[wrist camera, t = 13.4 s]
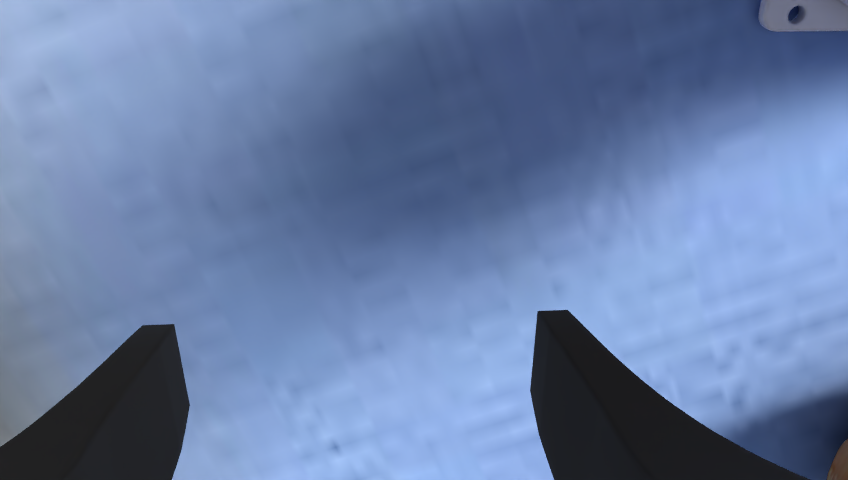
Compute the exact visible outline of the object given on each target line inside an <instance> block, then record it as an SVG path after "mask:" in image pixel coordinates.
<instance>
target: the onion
mask: <svg viewBox="0 0 848 480" xmlns="http://www.w3.org/2000/svg"><path fill="white" fill-rule="evenodd" d="M827 480H848V439H847V440H846V441H845V442H844V443H843V444H842V445H841V446H840V448H839V449H838V451H837V453H836V455H835V458H834V460H833V462H832V465H831V467H830V470H829V472H828V476H827Z"/></svg>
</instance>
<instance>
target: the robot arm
mask: <svg viewBox="0 0 848 480" xmlns="http://www.w3.org/2000/svg"><path fill="white" fill-rule="evenodd" d="M795 6H798V7H799V13H798V15H797V17H795V18H794V19H793V20H790V21H789V20H788V14H789V12H790V10H791V9H792V8H794V7H795ZM759 21H760V24H761V25H762V26H763V27H764V28H766V29H768V30H770V31H775V32H792V31H848V0H761V4H760V9H759ZM530 391H531V397H532V402H533V407H534V412H535V417H536V422H537V427H538V432H539V436H540V439H541V442H542V445H543V448H544V451H545V454H546V457H547V460H548V463H549V466H550V469H551V472H552V474H553V477H554V480H810V479H808V478H805V477H803V476H800V475H798V474H796V473H793V472H791V471H789V470H787V469H785V468H783V467H780V466H778V465H776V464H774V463H772V462H770V461H767V460H765V459H763V458H761V457H759V456H757V455H755V454H754V453H752V452H750V451H748V450H746V449H744V448H742V447H740V446H738V445H737V444H735V443H733V442H731V441H730V440H728V439H726V438H724V437H723V436H721V435H719V434H717V433H716V432H714V431H712V430H711V429H709V428H707V427H706V426H704V425H703V424H701V423H699V422H698V421H696V420H695V419H694V418H692V417H691V416H689V415H688V414H686V413H685V412H683V411H682V410H680V409H679V408H677V407H676V406H674V405H673V404H672V403H670V402H669V401H668V400H666V399H665V398H664V397H662V396H661V395H660V394H658V393H657V392H656V391H655V390H653V389H652V388H651V387H650V386H649V385H647V384H646V383H645V382H644V381H642V380H641V379H640V378H639V377H638V376H636V375H635V374H634V373H633V372H632V371H631V370H629V369H628V368H627V367H626V366H625V365H624V364H623V363H622V362H620V361H619V360H618V359H617V358H616V357H615V356H614V355H613V354H612V353H611V352H610V351H609V350H608V349H607V348H606V347H605V346H603V345H602V344H601V343H600V342H599V341H598V340H597V339H596V338H595V337H594V336H593V335H592V334H591V333H590V332H589V331H588V330H587V329H586V328H585V327H584V326H583V325H582V324H581V323H580V322H579V321H578V320H577V319H576V318H575V317H574V316H573V315H572V314H571V313H570V312H569V311H568V310H555V311H538V313H537V324H536V335H535V345H534V356H533V367H532V378H531V389H530ZM189 406H190V404H189V399H188V394H187V389H186V383H185V378H184V373H183V368H182V363H181V357H180V352H179V347H178V342H177V336H176V331H175V326H174V324H167V325H142V326H141V327H140V328H139V329H138V330H137V331H136V332H135V333H134V334H133V335H131V336H130V337H129V338H128V339H127V340H126V341H125V342H124V343H123V344H122V345H121V346H120V347H119V348H118V349H117V350H116V351H115V352H114V353H113V354H112V355H111V356H110V357H109V358H108V359H106V360H105V361H104V362H103V363H102V364H101V365H100V366H99V367H98V368H97V369H96V370H95V371H94V372H93V373H91V374H90V375H89V376H88V377H87V378H86V379H85V380H84V381H83V382H82V383H81V384H80V385H78V386H77V387H76V388H75V389H74V390H73V391H71V392H70V393H69V394H68V395H67V396H65V397H64V398H63V399H62V400H61V401H60V402H58V403H57V404H56V405H55V406H54V407H52V408H51V409H50V410H49V411H48V412H46V413H45V414H44V415H43V416H42V417H40V418H39V419H38V420H37V421H35V422H34V423H33V424H32V425H30V426H29V427H28V428H26V429H25V430H24V431H22V432H21V433H20V434H18V435H17V436H15V437H14V438H13V439H11V440H10V441H8V442H7V443H5V444H4V445H3V446H1V447H0V480H172V477H173V474H174V471H175V468H176V465H177V462H178V459H179V456H180V453H181V449H182V444H183V439H184V434H185V429H186V423H187V417H188V412H189Z"/></svg>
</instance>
